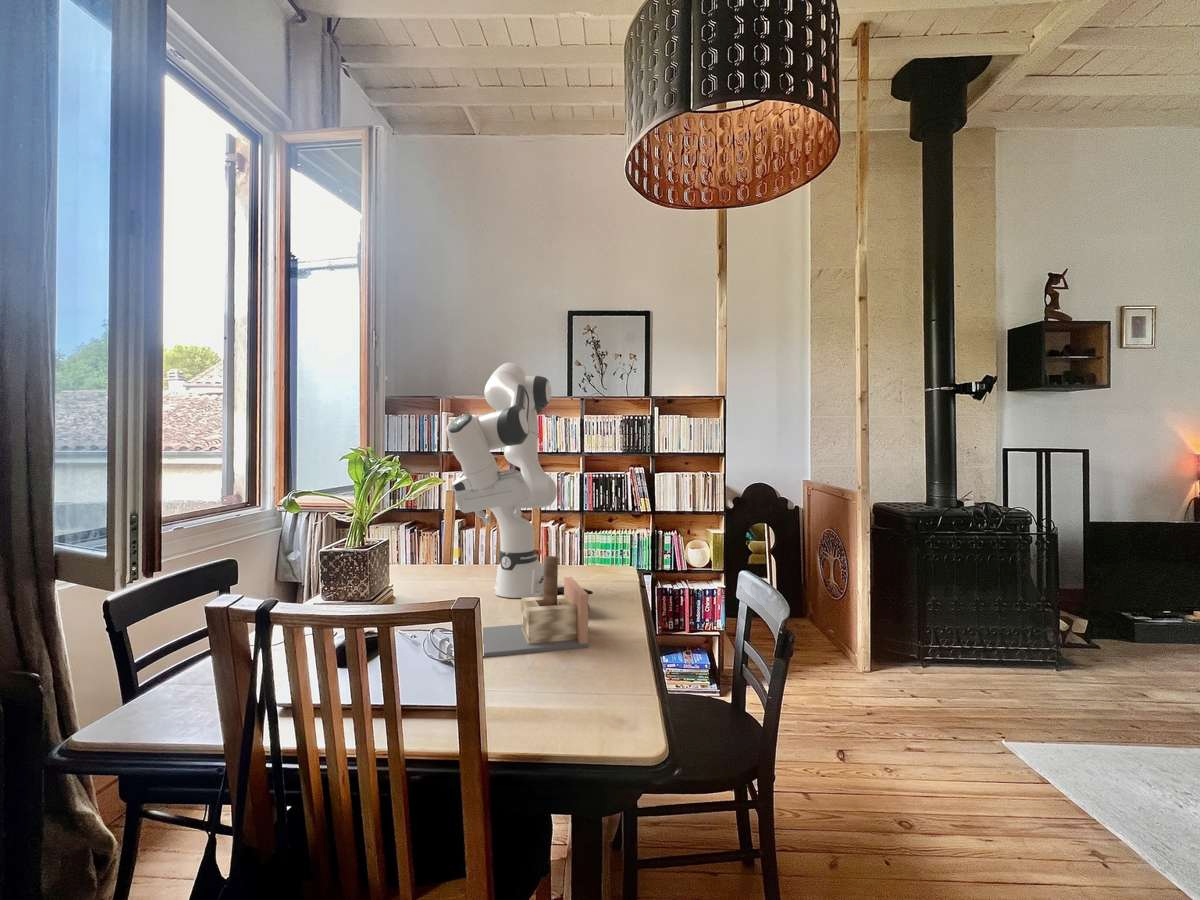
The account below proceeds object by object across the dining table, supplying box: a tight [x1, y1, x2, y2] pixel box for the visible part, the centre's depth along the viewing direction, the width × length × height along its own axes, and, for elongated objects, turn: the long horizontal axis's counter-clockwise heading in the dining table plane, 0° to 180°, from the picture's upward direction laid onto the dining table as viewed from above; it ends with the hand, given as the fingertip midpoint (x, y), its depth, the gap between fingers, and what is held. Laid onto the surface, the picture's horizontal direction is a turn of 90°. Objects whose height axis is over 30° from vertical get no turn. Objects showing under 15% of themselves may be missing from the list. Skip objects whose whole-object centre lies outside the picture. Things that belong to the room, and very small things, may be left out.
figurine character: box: [557, 586, 594, 613], centre depth 167 cm, size 7×8×15 cm
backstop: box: [482, 576, 589, 658], centre depth 143 cm, size 27×18×13 cm, turn 106°
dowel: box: [542, 555, 559, 606], centre depth 145 cm, size 4×4×18 cm
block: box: [520, 595, 577, 644], centre depth 145 cm, size 12×12×8 cm
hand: (503, 519), depth 153 cm, fingers open, 8 cm apart
